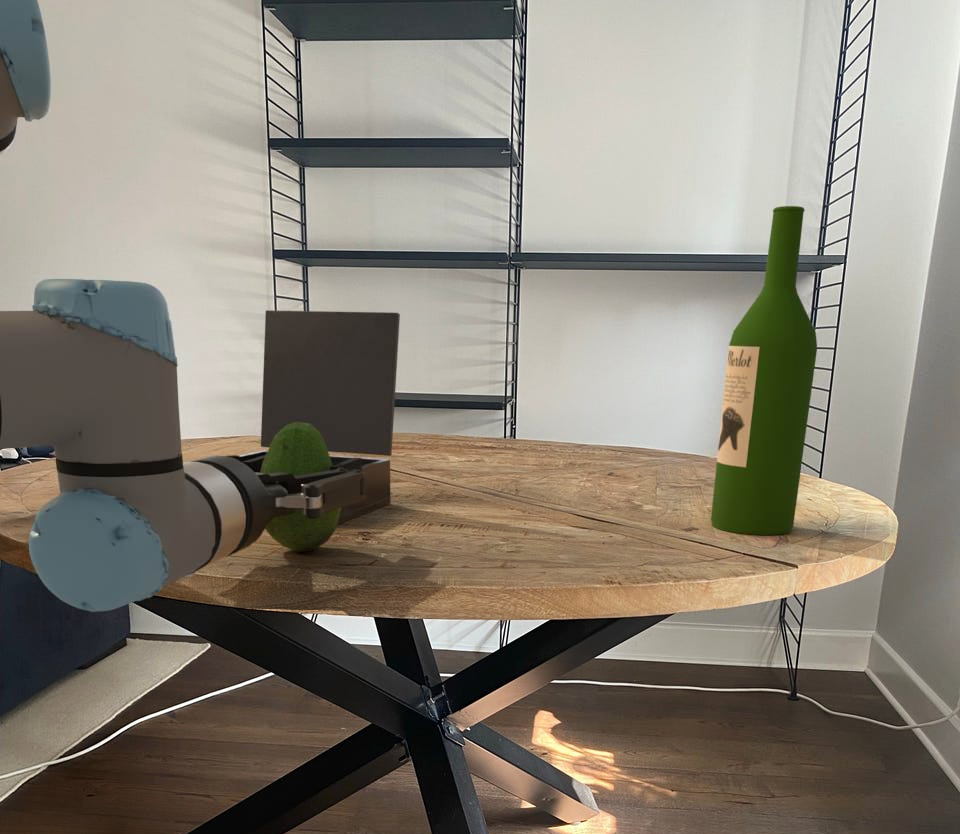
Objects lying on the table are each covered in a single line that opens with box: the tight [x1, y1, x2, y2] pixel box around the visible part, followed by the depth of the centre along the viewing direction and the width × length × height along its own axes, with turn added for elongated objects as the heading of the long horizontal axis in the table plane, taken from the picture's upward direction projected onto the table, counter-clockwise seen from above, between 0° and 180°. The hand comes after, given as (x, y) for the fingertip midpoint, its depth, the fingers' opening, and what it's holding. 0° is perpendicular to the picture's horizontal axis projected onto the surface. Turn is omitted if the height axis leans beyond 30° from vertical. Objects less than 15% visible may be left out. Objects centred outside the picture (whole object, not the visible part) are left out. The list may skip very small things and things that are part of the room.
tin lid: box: [260, 310, 401, 457], centre depth 110 cm, size 16×18×1 cm
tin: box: [238, 450, 392, 526], centre depth 106 cm, size 16×18×5 cm
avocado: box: [260, 422, 341, 553], centre depth 85 cm, size 8×8×12 cm
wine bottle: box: [710, 205, 818, 536], centre depth 97 cm, size 9×9×32 cm
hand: (316, 469), depth 89 cm, fingers closed on avocado, 8 cm apart
